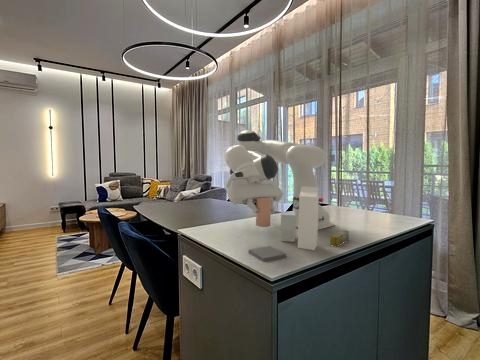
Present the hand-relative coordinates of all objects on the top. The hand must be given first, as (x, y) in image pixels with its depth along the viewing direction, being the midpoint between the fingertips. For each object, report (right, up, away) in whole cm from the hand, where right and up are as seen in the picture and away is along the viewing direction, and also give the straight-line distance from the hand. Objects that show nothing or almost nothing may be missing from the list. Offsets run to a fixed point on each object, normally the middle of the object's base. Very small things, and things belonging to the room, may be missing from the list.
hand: (264, 211), depth 86 cm
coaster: (+1, -15, +1) cm, 14 cm away
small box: (+11, -14, +19) cm, 26 cm away
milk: (+16, -14, +9) cm, 24 cm away
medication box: (+30, -14, +15) cm, 37 cm away
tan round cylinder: (0, -5, +1) cm, 5 cm away
